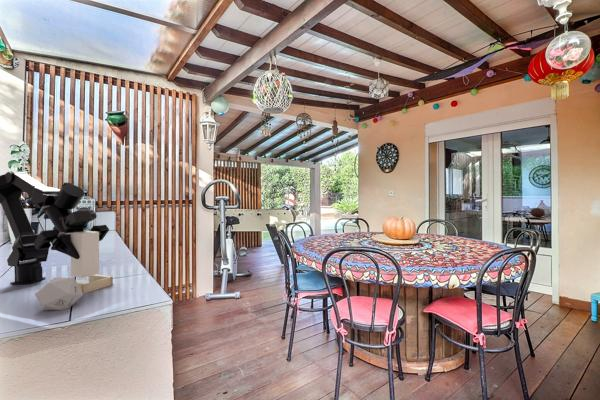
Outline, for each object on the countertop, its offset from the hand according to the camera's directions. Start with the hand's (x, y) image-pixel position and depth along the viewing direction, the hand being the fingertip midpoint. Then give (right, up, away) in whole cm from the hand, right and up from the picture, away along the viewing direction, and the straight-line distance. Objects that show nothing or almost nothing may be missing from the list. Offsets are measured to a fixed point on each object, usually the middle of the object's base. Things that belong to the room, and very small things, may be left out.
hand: (88, 256), depth 87 cm
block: (-1, -6, +1) cm, 6 cm away
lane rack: (-3, -10, +1) cm, 11 cm away
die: (+4, -11, -15) cm, 19 cm away
